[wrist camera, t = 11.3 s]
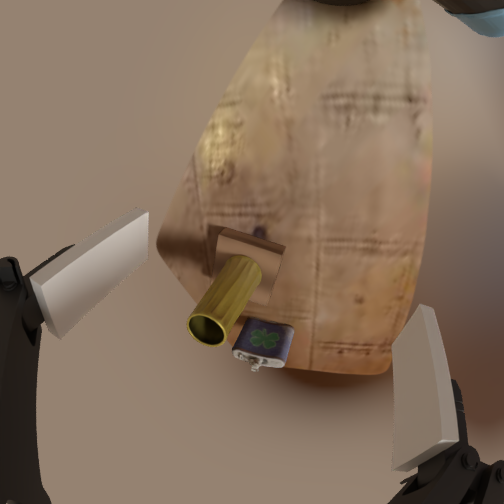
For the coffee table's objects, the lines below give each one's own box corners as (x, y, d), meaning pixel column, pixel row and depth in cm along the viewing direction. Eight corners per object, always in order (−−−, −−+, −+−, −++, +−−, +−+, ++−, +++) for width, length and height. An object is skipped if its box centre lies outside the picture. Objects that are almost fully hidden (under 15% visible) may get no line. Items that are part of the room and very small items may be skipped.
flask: (295, 325, 50) (283, 369, 41) (293, 336, 52) (281, 379, 43) (246, 315, 53) (226, 355, 43) (246, 326, 54) (226, 366, 45)
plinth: (225, 227, 46) (218, 234, 43) (285, 246, 44) (282, 255, 42) (217, 277, 51) (210, 286, 48) (270, 296, 49) (266, 306, 47)
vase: (224, 284, 47) (184, 341, 35) (225, 251, 44) (180, 304, 32) (260, 292, 46) (229, 355, 33) (263, 258, 43) (230, 318, 31)
